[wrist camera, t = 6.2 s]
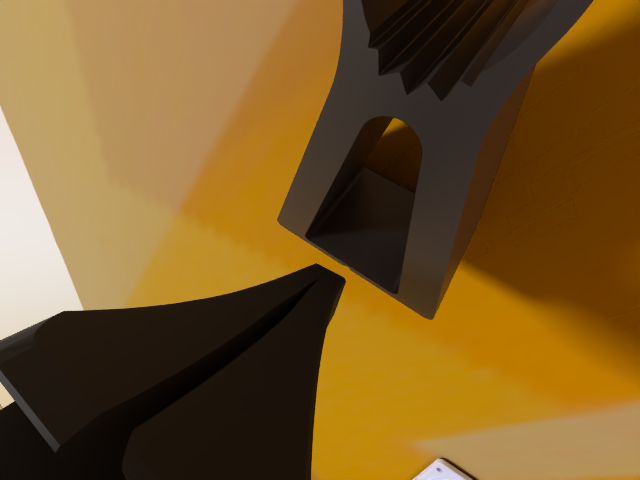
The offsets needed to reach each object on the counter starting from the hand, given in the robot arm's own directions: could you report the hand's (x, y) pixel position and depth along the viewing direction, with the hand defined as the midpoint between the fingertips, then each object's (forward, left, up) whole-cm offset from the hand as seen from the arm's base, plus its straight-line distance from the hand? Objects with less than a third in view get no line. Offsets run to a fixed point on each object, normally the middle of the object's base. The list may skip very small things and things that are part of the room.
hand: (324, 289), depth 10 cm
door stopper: (+1, 0, -6) cm, 6 cm away
